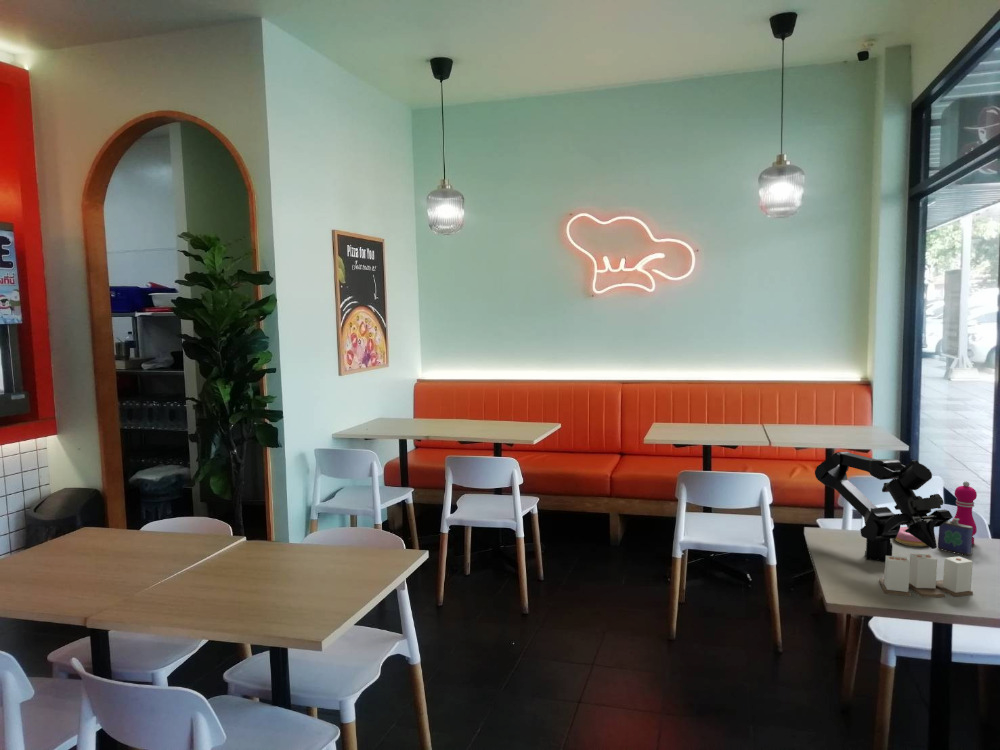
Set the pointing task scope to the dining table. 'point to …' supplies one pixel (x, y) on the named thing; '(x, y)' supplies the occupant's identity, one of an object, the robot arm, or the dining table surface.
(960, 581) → the white pillar with knob
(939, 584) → the tile tracks
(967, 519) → the pepper mill
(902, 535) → the doughnut
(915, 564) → the two-bump white pillar
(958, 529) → the flask
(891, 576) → the three-dot tile
